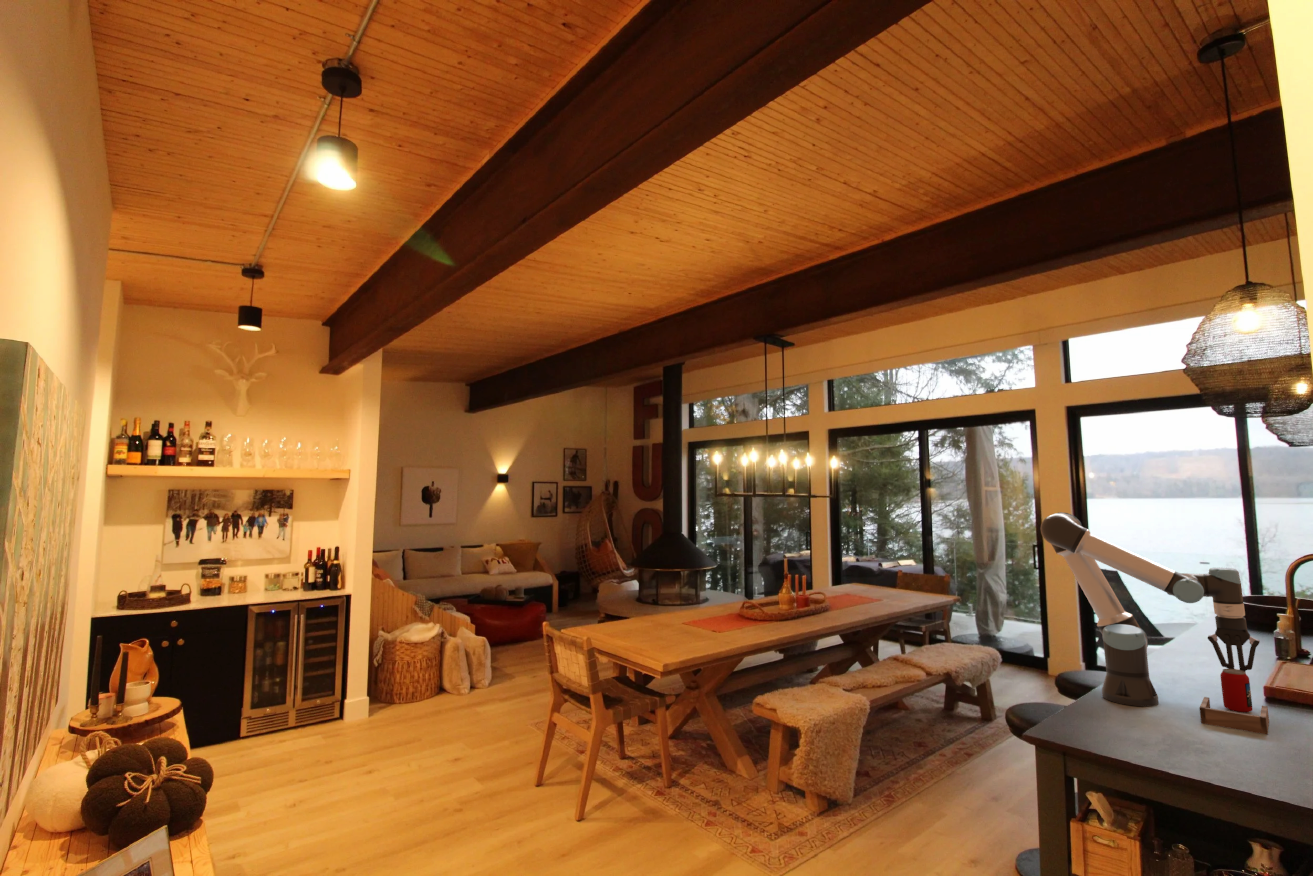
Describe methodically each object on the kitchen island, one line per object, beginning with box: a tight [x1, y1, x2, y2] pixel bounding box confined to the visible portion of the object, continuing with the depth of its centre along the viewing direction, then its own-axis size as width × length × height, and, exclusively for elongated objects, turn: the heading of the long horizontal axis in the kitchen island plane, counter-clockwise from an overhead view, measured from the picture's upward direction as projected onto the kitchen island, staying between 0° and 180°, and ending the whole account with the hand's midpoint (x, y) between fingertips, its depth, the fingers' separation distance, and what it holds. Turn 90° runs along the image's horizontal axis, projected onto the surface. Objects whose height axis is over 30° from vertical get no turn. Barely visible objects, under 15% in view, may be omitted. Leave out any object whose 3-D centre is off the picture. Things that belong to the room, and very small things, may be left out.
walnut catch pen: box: [1199, 696, 1270, 735], centre depth 190 cm, size 13×14×4 cm
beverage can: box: [1220, 668, 1253, 714], centre depth 201 cm, size 7×7×12 cm
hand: (1240, 690), depth 207 cm, fingers closed
